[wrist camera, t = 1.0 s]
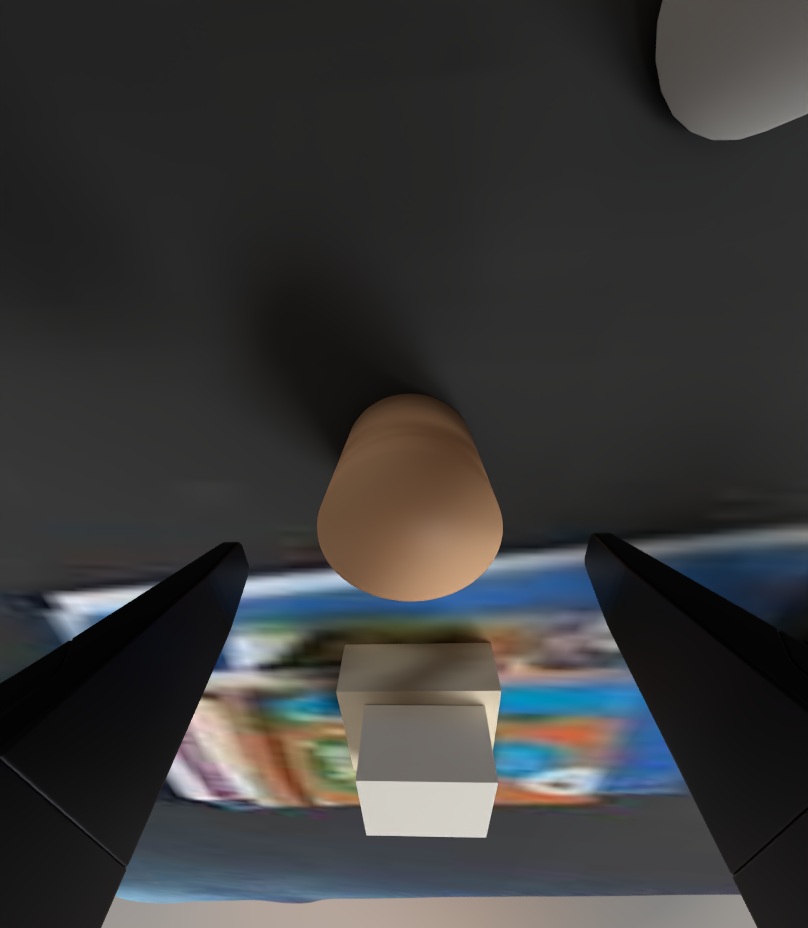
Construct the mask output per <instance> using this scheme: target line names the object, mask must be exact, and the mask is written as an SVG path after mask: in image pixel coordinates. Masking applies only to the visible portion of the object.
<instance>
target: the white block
mask: <svg viewBox="0 0 808 928" xmlns="http://www.w3.org/2000/svg"><path fill="white" fill-rule="evenodd" d="M356 784H357V789H358V794H359V800H360V805H361V810H362V815H363V820H364V825H365V830H366V835H379V836H432V837H485V838H486V835H487V831H488V826H489V822H490V817H491V813H492V808H493V804H494V799H495V795H496V790H497V785H498V780H497V774H496V768H495V762H494V756H493V750H492V744H491V738H490V732H489V727H488V721H487V715H486V709H485V706H437V705H364V712H363V721H362V730H361V739H360V748H359V757H358V766H357V775H356Z"/></svg>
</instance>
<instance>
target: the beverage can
mask: <svg viewBox="0 0 808 928" xmlns="http://www.w3.org/2000/svg"><path fill="white" fill-rule="evenodd" d="M656 66H657V72H658V77H659V82H660V88H661V92H662V94H663V96H664V98H665V100H666V102H667V104H668V106H669V108H670V110H671V112H672V114H673V116H674V117H675V118H676V119H677V120H678V121H679V122H680V123H681V124H683V125H684V126H685V127H686V128H687V129H688V130H689V131H690V132H692V133H695V134H697V135H700V136H703V137H705V138H708V139H710V140H740V139H743V138H746V137H749V136H752V135H755V134H759V133H762V132H765V131H768V130H770V129H772V128H775V127H777V126H780V125H782V124H784V123H787V122H789V121H791V120H794V119H796V118H799V117H801V116H803V115H806V114H808V0H662V5H661V9H660V13H659V17H658V21H657V37H656Z"/></svg>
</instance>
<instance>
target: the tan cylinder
mask: <svg viewBox="0 0 808 928" xmlns="http://www.w3.org/2000/svg"><path fill="white" fill-rule="evenodd" d="M317 534H318V540H319V544H320V547H321V550H322V552H323V554H324V556H325V558H326V559H327V561H328V563H329V564H330V565H331V567H332V568H333V569H334V570H335V571H336V572H337V573H338V574H339V575H340V576H341V577H342V578H343V579H344V580H346V581H347V582H348V583H350V584H351V585H353V586H355V587H356V588H358V589H360V590H362V591H364V592H367V593H369V594H371V595H374V596H378V597H381V598H385V599H390V600H397V601H425V600H431V599H436V598H440V597H444V596H446V595H449V594H452V593H455V592H457V591H459V590H461V589H463V588H464V587H466V586H468V585H469V584H471V583H472V582H474V581H475V580H476V579H477V578H479V577H480V576H481V575H482V574H483V573H484V572H485V571H486V570H487V568H488V567H489V566H490V564H491V563H492V562H493V560H494V558H495V556H496V554H497V553H498V550H499V547H500V544H501V540H502V534H503V522H502V515H501V512H500V508H499V505H498V503H497V500H496V498H495V495H494V492H493V490H492V487H491V485H490V482H489V480H488V477H487V475H486V472H485V469H484V467H483V464H482V462H481V459H480V457H479V454H478V452H477V449H476V446H475V444H474V441H473V439H472V436H471V434H470V431H469V429H468V427H467V425H466V423H465V422H464V420H463V419H462V417H461V416H460V415H459V414H458V413H457V412H456V411H455V410H454V409H452V408H451V407H450V406H449V405H447V404H445V403H444V402H442V401H440V400H438V399H436V398H433V397H430V396H426V395H421V394H399V395H394V396H390V397H387V398H385V399H382V400H380V401H378V402H376V403H374V404H373V405H371V406H370V407H369V408H367V409H366V410H365V411H364V412H363V413H362V414H361V415H360V416H359V418H358V419H357V420H356V422H355V423H354V425H353V427H352V429H351V431H350V434H349V437H348V439H347V442H346V444H345V447H344V449H343V452H342V454H341V457H340V459H339V462H338V464H337V467H336V469H335V472H334V474H333V477H332V479H331V482H330V484H329V487H328V489H327V492H326V494H325V497H324V499H323V502H322V505H321V507H320V510H319V514H318V519H317Z"/></svg>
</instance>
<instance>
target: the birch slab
mask: <svg viewBox="0 0 808 928" xmlns="http://www.w3.org/2000/svg"><path fill="white" fill-rule="evenodd" d="M336 693H337V698H338V702H339V707H340V711H341V715H342V720H343V724H344V728H345V733H346V737H347V741H348V746H349V750H350V755H351V759H352V763H353V768H354V771H357V766H358V757H359V748H360V739H361V730H362V721H363V712H364V705H437V706H485V709H486V715H487V721H488V727H489V732H490V738H491V744H492V750H493V745H494V738H495V731H496V724H497V717H498V710H499V703H500V696H501V687H500V683H499V678H498V674H497V669H496V664H495V660H494V655H493V651H492V646H491V643H434V644H357V645H345V646H344V652H343V657H342V663H341V668H340V674H339V679H338V684H337V690H336Z"/></svg>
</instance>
